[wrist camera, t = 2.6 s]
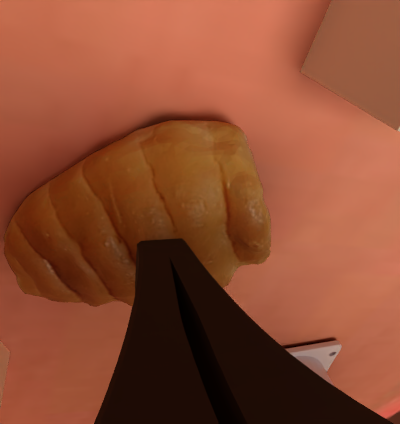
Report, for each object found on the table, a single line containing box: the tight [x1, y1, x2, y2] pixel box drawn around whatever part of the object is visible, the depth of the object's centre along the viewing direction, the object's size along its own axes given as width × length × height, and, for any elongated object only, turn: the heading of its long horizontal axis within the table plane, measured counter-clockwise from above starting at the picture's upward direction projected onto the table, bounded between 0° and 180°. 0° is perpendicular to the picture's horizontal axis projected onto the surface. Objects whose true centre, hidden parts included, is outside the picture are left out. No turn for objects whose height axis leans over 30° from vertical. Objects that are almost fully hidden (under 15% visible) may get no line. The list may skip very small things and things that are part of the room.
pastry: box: [4, 120, 271, 307], centre depth 12 cm, size 9×7×4 cm
